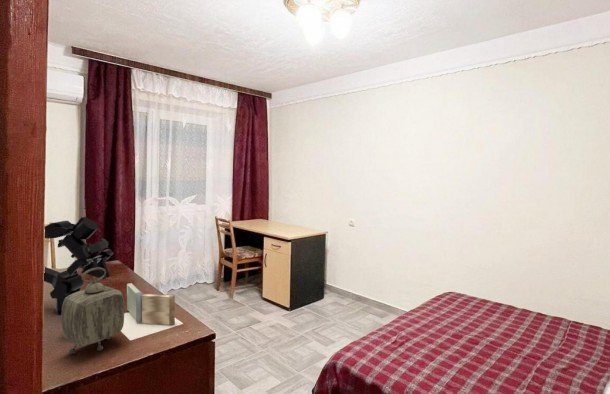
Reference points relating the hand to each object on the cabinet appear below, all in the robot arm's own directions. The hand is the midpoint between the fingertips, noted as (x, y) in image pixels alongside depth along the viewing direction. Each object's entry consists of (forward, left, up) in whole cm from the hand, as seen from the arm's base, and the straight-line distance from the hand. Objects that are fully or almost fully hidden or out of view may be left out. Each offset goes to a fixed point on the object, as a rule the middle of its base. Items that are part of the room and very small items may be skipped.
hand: (107, 277), depth 128 cm
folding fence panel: (+6, -11, -13) cm, 18 cm away
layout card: (+7, -17, -14) cm, 23 cm away
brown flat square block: (+10, -23, -13) cm, 28 cm away
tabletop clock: (-11, -26, -14) cm, 32 cm away
